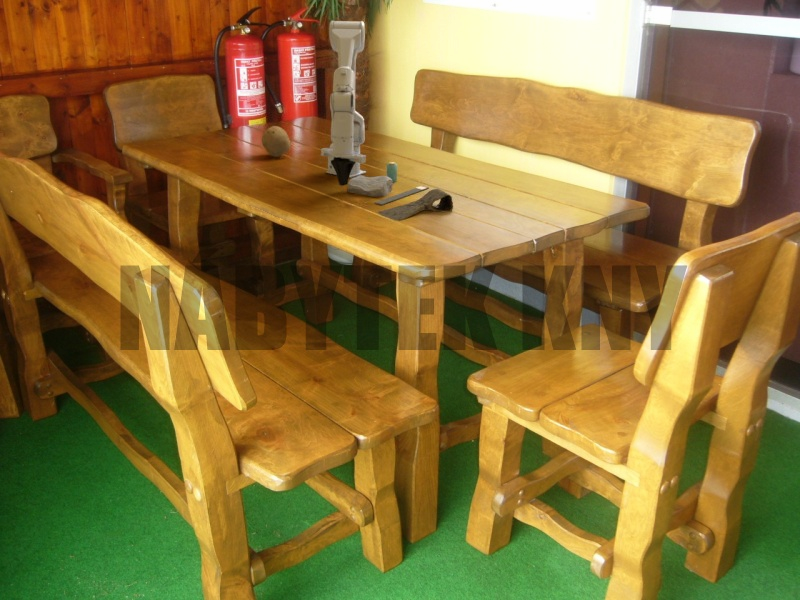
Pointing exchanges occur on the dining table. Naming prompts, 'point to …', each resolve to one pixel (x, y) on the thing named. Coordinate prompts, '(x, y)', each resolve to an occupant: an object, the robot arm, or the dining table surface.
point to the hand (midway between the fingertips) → (343, 184)
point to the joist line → (401, 195)
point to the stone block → (370, 185)
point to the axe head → (421, 205)
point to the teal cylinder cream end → (392, 171)
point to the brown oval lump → (276, 141)
